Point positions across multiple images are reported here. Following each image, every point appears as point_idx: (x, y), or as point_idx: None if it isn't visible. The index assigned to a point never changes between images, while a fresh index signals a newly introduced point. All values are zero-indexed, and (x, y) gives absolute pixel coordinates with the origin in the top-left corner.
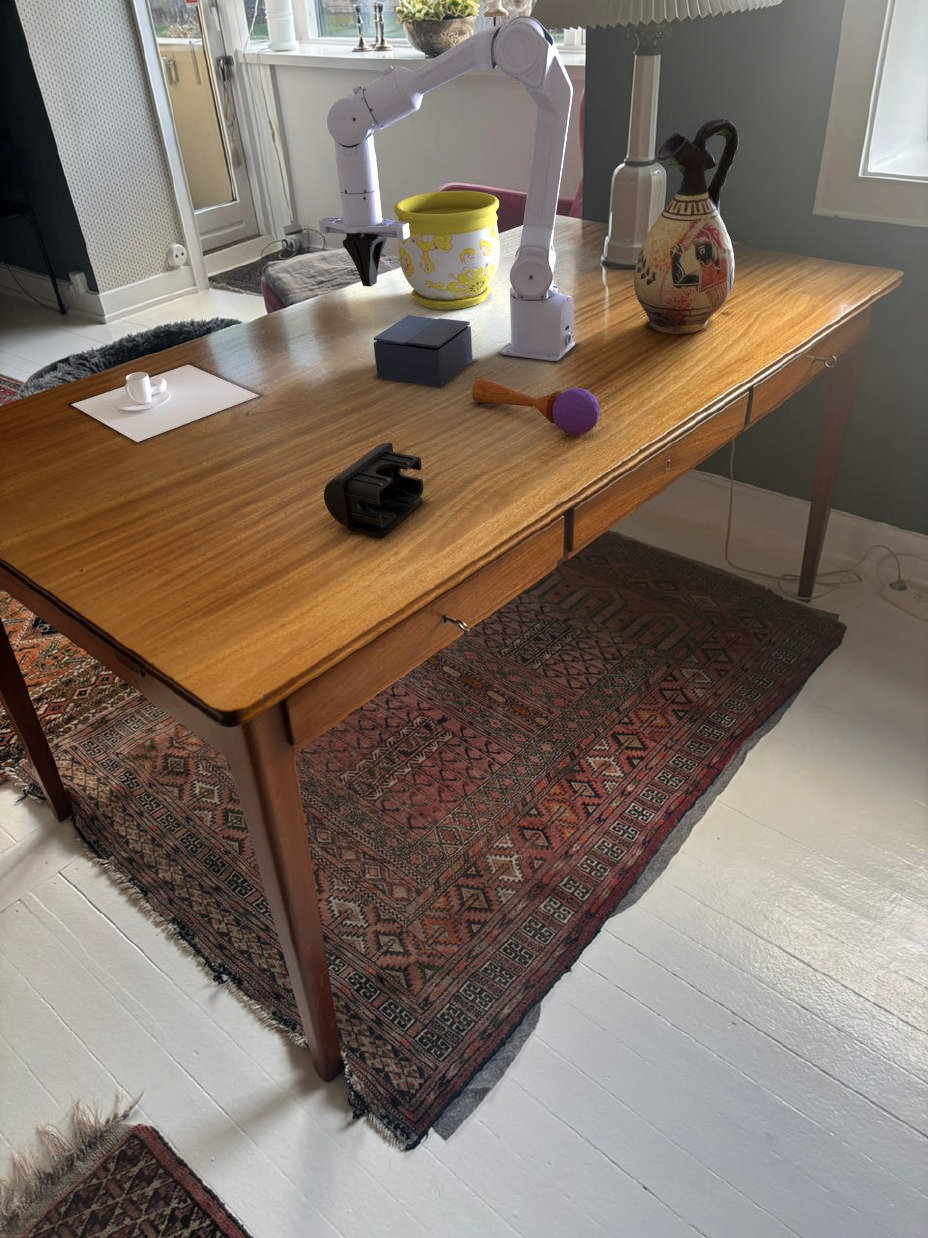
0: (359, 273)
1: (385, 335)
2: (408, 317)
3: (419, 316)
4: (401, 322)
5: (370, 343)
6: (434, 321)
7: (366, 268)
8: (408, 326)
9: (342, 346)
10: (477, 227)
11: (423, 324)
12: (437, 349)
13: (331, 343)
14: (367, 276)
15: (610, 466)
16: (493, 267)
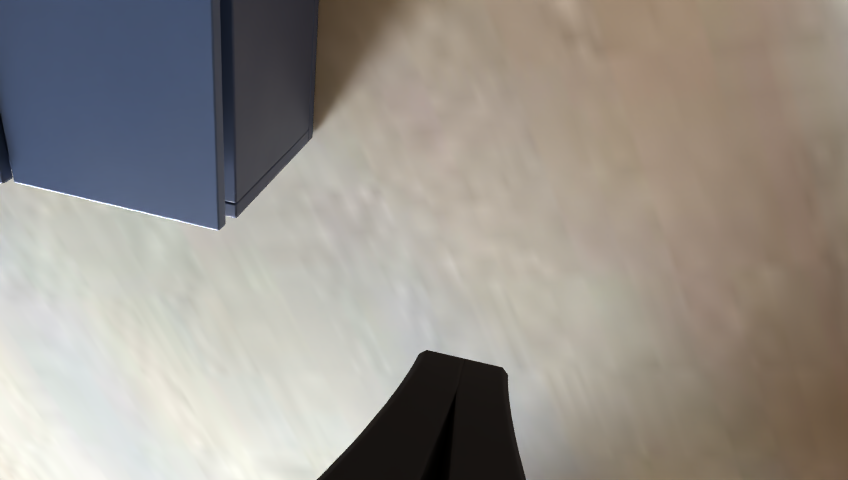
0: (504, 445)
1: None
2: (192, 182)
3: (138, 208)
4: (183, 78)
5: (582, 246)
6: (5, 134)
7: (374, 463)
8: (94, 4)
9: (739, 193)
10: None
11: (30, 66)
12: None
13: (824, 231)
14: (404, 402)
15: None
16: None
